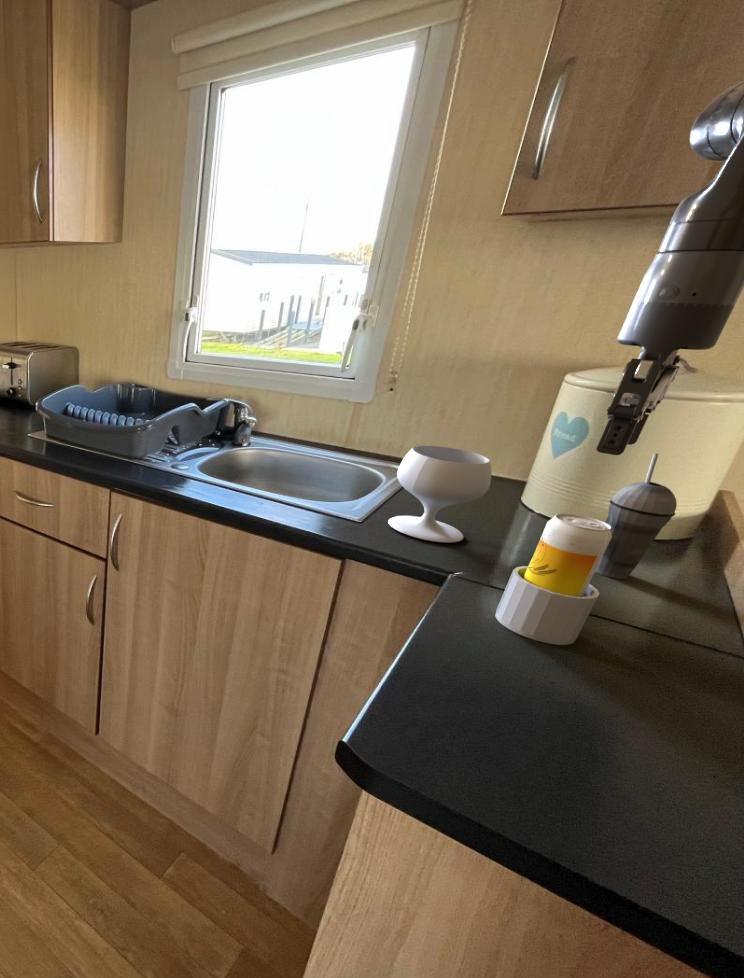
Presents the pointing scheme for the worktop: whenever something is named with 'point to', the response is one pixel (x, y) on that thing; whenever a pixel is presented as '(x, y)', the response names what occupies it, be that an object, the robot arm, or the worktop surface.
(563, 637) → the can holder
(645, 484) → the beverage cup
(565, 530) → the beer can
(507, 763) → the worktop surface
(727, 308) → the robot arm
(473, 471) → the chalice
